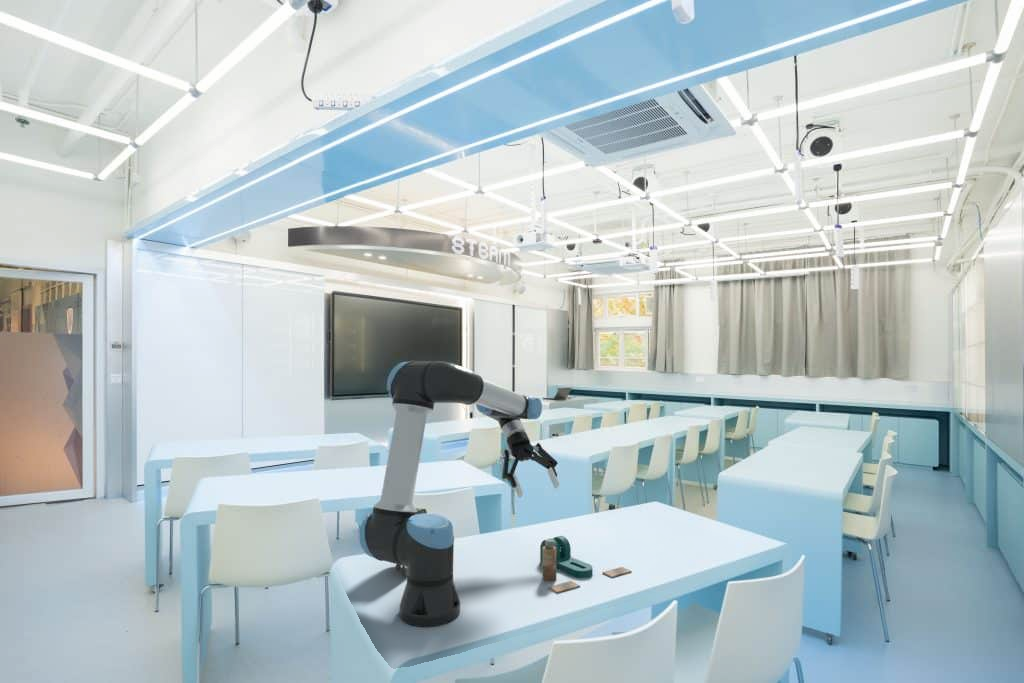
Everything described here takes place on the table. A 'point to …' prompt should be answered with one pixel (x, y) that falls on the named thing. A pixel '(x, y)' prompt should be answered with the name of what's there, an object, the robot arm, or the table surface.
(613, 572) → the wooden slat
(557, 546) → the bracket
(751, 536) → the table surface
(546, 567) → the tan cylinder gray tip
